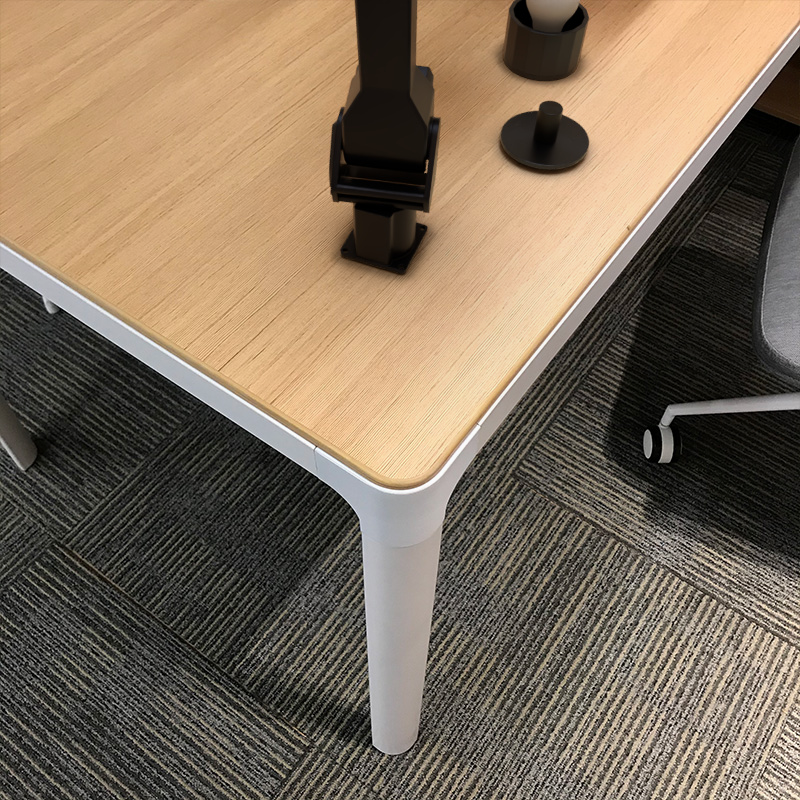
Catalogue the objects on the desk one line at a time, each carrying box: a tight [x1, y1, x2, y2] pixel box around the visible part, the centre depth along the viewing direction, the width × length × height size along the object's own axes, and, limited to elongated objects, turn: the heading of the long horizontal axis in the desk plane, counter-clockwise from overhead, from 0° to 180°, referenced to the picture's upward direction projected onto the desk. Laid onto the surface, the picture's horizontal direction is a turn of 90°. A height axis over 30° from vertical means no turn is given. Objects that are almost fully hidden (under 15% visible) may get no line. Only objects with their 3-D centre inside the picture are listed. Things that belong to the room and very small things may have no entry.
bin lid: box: [499, 100, 590, 170], centre depth 79 cm, size 9×9×5 cm
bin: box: [502, 0, 590, 82], centre depth 88 cm, size 9×9×6 cm
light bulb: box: [526, 0, 581, 32], centre depth 85 cm, size 6×6×10 cm
